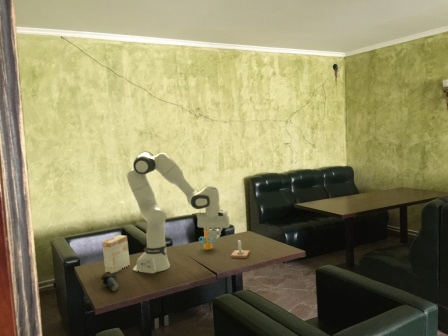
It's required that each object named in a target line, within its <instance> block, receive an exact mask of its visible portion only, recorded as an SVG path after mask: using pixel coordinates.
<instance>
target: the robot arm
mask: <svg viewBox="0 0 448 336" xmlns="http://www.w3.org/2000/svg"><path fill="white" fill-rule="evenodd" d="M132 164H133V168H132V169H131V170H129V171H128V172H127V174H126V178H127V182H128V186H129V188H130V190H131V192H132V194H133V196H134V198H135V201H136V203H137V205H138V209H139V211H140V214H141V216H142V218H143V219H144V220H145V221H146V234H145V236H146V246H145V247H144V248H143V251H144V252H143V253H142V254H141V255H140V256H138V259H137V261H136V265H135V266H134V267H133V272H138V271H139V273H145V274H155V273H159V272H162V271H167V270H168V269H169V268H170V267H171V264H170V262H169V259H168V253H167V252H168V251H167V249H168V248H167V244H166V235H165V229H166V228H165V227H166V219H167V216H166V212H165V211H164V209H163V208H161V207H160V206H159V205H158V202H157V200H156V197H155V193H154V191H153V188H152V187H151V185H150V182H149V180H148V178H147V174H149V173H151V172H153V171H157V172H158V173H159V174H160V175H161V176H162V177H163V178H164V179H165V180H166V181H167V182H169V183H170V184H173V185H175V186H176V187H178V188H179V190H180V191H181V192H182V193H183V194H184V195H185V196H186V199H187V202H188V204H189V205H190V206H191V207H192V208H193V209H195V210H202V209H204V208H205V212H198V213H197V214H196V218H197V221H196V222H197V227H198V228H203V229H204V228H205V230H206V232H207V235H208V228H210V229H219V232H218V235H220V236H221V235H222V233H221V232H222V231H223V229H228V228H229V227H230V225H231V223H230V217H229V215H228V211H227V210H226V209H221V208H220V194H219V190H218V188H217V187H214V186H210V185H209V186H205V187H204V188H203V189H202V190H200V191H199V190H197V189H194V187H192V185H191V184H190V183H189V182H188V181H187V180H186V179H185V176H184V173H183V170H182V169H181V168H180V166H179V165H178V164H177V162H176V161H175V160H174V159H173V158H171V157H170V156H169V155H168V154H166V153H164V152H160V153H158V154H157V155H154V154H153V153H151V152H150V151H142V152H140V153H138V155H137V156H136V157H135V159H134V161H133V163H132Z"/></svg>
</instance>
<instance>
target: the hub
mask: <svg viewBox="0 0 448 336" xmlns="http://www.w3.org/2000/svg"><path fill="white" fill-rule="evenodd" d="M219 231H220V229H219V228H210V230H209V231H208V238H210V239H211V240H212V239H213V240H215V239H216V240H217V239H218V238H220V236H221V235H218V232H219Z"/></svg>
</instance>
